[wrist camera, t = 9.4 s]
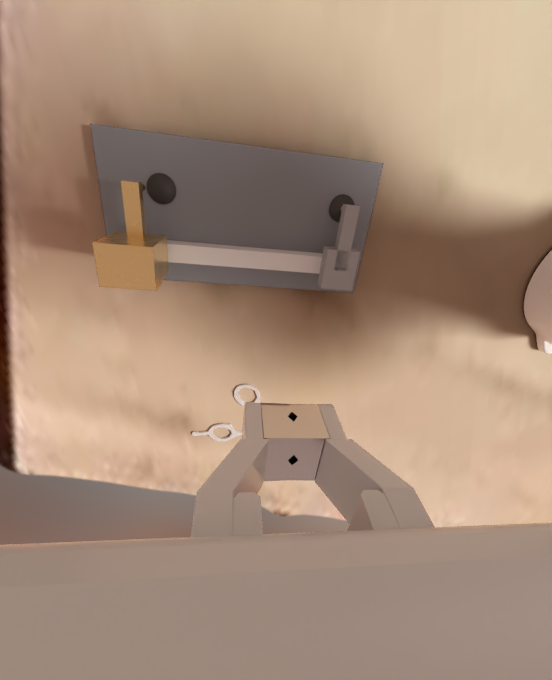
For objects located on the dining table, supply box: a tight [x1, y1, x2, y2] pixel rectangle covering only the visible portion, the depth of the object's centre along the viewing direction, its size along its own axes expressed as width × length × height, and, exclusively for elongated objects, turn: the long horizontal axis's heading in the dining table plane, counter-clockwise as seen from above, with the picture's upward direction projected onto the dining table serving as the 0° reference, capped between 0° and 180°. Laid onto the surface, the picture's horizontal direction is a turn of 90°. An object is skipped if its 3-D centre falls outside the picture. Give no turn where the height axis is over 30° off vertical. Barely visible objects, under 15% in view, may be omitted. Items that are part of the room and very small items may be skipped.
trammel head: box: [92, 180, 169, 290], centre depth 24 cm, size 4×7×6 cm, turn 173°
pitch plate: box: [90, 124, 383, 293], centre depth 27 cm, size 24×12×4 cm, turn 83°
